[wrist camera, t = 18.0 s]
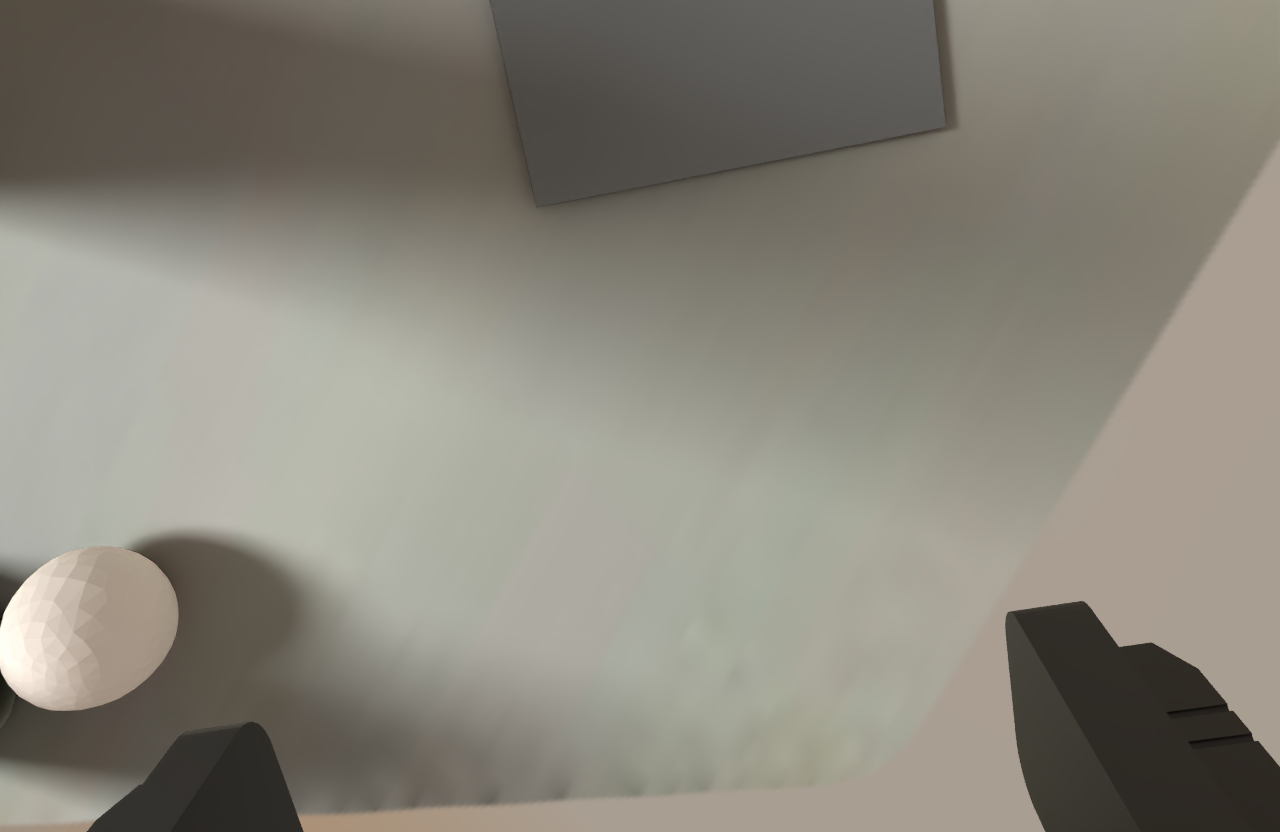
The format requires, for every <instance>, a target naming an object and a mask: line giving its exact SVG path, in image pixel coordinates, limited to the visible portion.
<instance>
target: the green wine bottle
mask: <svg viewBox="0 0 1280 832" xmlns="http://www.w3.org/2000/svg"><path fill="white" fill-rule="evenodd" d="M1 623H2V622H1V621H0V627H1ZM15 697H16V693H15V691H14V690H13V689H12V688H11V687H10V686H9V685H8V684H7V682H6V680H5V679H4V677H3V675H2V673H1V670H0V728H1V727H2V726H3V725H4V724H5V722H6V721H7V719H8V717H9V715H10V713H11V711H12V708H13V706H14V702H15Z"/></svg>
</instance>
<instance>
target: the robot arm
mask: <svg viewBox="0 0 1280 832" xmlns="http://www.w3.org/2000/svg"><path fill="white" fill-rule="evenodd" d="M1005 626H1006V641H1007V651H1008V661H1009V671H1010V681H1011V691H1012V701H1013V711H1014V721H1015V732H1016V740H1017V748H1018V754H1019V758H1020V763H1021V768H1022V772H1023V775H1024V779H1025V783H1026V786H1027V789H1028V792H1029V795H1030V798H1031V801H1032V803H1033V806H1034V808H1035V810H1036V812H1037V814H1038V816H1039V819H1040V821H1041V823H1042V825H1043V828H1044V830H1045V831H1046V832H1280V767H1279V765H1278V764H1277V763H1276V762H1275V761H1274V759H1273V758H1272V757H1271V756H1270V755H1269V753H1268V752H1267V751H1266V750H1265V749H1264V747H1263V746H1262V745H1261V744H1260V743H1259V741H1254V740H1253V737H1252V733H1251V732H1250V731H1249V729H1248V728H1247V727H1246V726H1245V725H1244V723H1243V722H1242V721H1241V720H1240V718H1239V717H1238V716H1237V715H1236V714H1235V713H1234V711H1229V709H1228V706H1227V703H1226V702H1225V700H1224V699H1223V698H1222V697H1221V696H1220V694H1219V693H1218V692H1217V691H1216V690H1215V688H1213V686H1212V685H1211V684H1210V683H1209V681H1208V680H1207V679H1206V678H1205V677H1204V675H1203V674H1202V673H1201V672H1200V670H1199V669H1198V668H1196V667H1194V666H1192V665H1190V664H1189V663H1187V662H1185V661H1183V660H1182V659H1180V658H1178V657H1176V656H1174V655H1173V654H1171V653H1169V652H1167V651H1166V650H1164V649H1162V648H1160V647H1159V646H1157V645H1155V644H1153V643H1145V644H1138V645H1131V646H1124V647H1118V645H1117V644H1116V642H1115V641H1114V640H1113V638H1112V637H1111V636H1110V634H1109V633H1108V632H1107V630H1106V629H1105V628H1104V626H1103V625H1102V623H1101V622H1100V620H1099V619H1098V618H1097V617H1096V615H1095V614H1094V612H1093V611H1092V609H1091V608H1090V607H1089V606H1088V605H1087V604H1086V603H1085V602H1083V601H1079V602H1072V603H1065V604H1059V605H1051V606H1045V607H1038V608H1031V609H1025V610H1018V611H1011V612H1008V613H1007V616H1006V623H1005ZM87 832H303V829H302V827H301V824H300V821H299V818H298V816H297V813H296V810H295V807H294V804H293V802H292V799H291V796H290V793H289V791H288V788H287V785H286V782H285V780H284V777H283V774H282V771H281V769H280V766H279V763H278V760H277V758H276V755H275V752H274V749H273V747H272V744H271V741H270V739H269V737H268V735H267V733H266V731H265V730H264V729H263V728H262V727H261V726H260V725H259V724H257V723H254V722H248V723H241V724H234V725H227V726H221V727H214V728H207V729H200V730H194V731H188V732H185V733H183V734H182V735H180V736H179V737H178V739H177V740H176V741H175V742H174V743H173V745H172V746H171V747H170V749H169V750H168V751H167V753H166V754H165V755H164V757H163V758H162V759H161V761H160V762H159V763H158V765H157V766H156V767H155V769H154V770H153V771H152V773H151V774H150V775H149V777H148V778H147V779H146V781H145V782H144V783H143V785H139V786H137V787H136V788H135V789H134V790H133V791H131V792H130V793H129V794H128V795H126V796H125V797H124V798H123V799H122V800H120V801H119V802H118V803H117V804H115V805H114V806H113V807H112V808H111V809H109V810H108V811H107V812H106V813H104V814H103V815H102V816H101V817H100V818H98V819H97V820H96V821H95V822H94V823H93V825H92V826H91V827H90V829H89V830H88V831H87Z"/></svg>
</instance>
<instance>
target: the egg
mask: <svg viewBox="0 0 1280 832" xmlns="http://www.w3.org/2000/svg"><path fill="white" fill-rule="evenodd" d="M178 619H179V613H178V603H177V598H176V593H175V591H174V589H173V587H172V585H171V583H170V581H169V579H168V578H167V577H166V575H165V574H164V573H163V572H162V571H161V570H160V569H159V568H158V566H157V565H156V564H155V563H153V562H152V561H151V560H149V559H147V558H146V557H144V556H142V555H140V554H139V553H136V552H133V551H129V550H126V549H123V548H119V547H108V546H95V547H88V548H82V549H76V550H73V551H70V552H68V553H65V554H63V555H61V556H58V557H56V558H54V559H52V560H51V561H49V562H48V563H46V564H45V565H43V566H42V567H40V568H39V569H38V570H37V571H36V572H35V573H33V574H32V575H31V576H30V577H29V578H28V579H27V580H26V581H25V582H24V583H23V584H22V586H21V587H20V588H19V590H18V591H17V592H16V594H15V595H14V596H13V597H12V599H11V601H10V603H9V605H8V606H7V608H6V610H5V612H4V615H3V619H2V623H1V627H0V670H1V673H2V675H3V677H4V679H5V680H6V682H7V684H8V685H9V686H10V687H11V688H12V689H13V690H14V691H15V693H16V694H17V695H18V696H19V697H21V698H23V699H24V700H26V701H28V702H30V703H32V704H33V705H35V706H37V707H40V708H44V709H48V710H56V711H71V710H84V709H88V708H92V707H96V706H100V705H104V704H106V703H109V702H112V701H114V700H117V699H119V698H121V697H122V696H124V695H126V694H127V693H129V692H131V691H132V690H134V689H135V688H136V687H138V686H139V685H140V684H141V683H143V682H144V681H145V680H146V679H148V678H149V676H150V675H151V674H152V673H153V672H154V671H155V670H156V669H157V668H158V666H159V665H160V664H161V663H162V662H163V660H164V659H165V657H166V655H167V654H168V652H169V650H170V648H171V647H172V644H173V642H174V639H175V636H176V633H177V627H178Z"/></svg>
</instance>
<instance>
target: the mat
mask: <svg viewBox="0 0 1280 832" xmlns="http://www.w3.org/2000/svg"><path fill="white" fill-rule="evenodd" d="M490 3H491V8H492V12H493V17H494V21H495V25H496V30H497V34H498V39H499V43H500V48H501V52H502V56H503V61H504V65H505V70H506V74H507V78H508V83H509V87H510V92H511V96H512V101H513V105H514V109H515V114H516V118H517V123H518V127H519V131H520V136H521V140H522V145H523V149H524V154H525V158H526V162H527V167H528V171H529V176H530V180H531V184H532V189H533V193H534V198H535V202H536V207H541V206H547V205H552V204H557V203H562V202H567V201H572V200H577V199H582V198H587V197H592V196H597V195H603V194H608V193H613V192H618V191H623V190H628V189H633V188H638V187H643V186H648V185H653V184H659V183H664V182H669V181H674V180H679V179H684V178H689V177H694V176H699V175H704V174H709V173H714V172H720V171H725V170H730V169H735V168H740V167H745V166H750V165H755V164H760V163H765V162H770V161H776V160H781V159H786V158H791V157H796V156H801V155H806V154H811V153H816V152H821V151H826V150H832V149H837V148H842V147H847V146H852V145H857V144H862V143H867V142H872V141H877V140H882V139H888V138H893V137H898V136H903V135H908V134H913V133H918V132H923V131H928V130H933V129H938V128H943V127H946V123H945V114H944V104H943V94H942V84H941V74H940V65H939V55H938V45H937V35H936V26H935V16H934V6H933V0H490Z"/></svg>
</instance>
